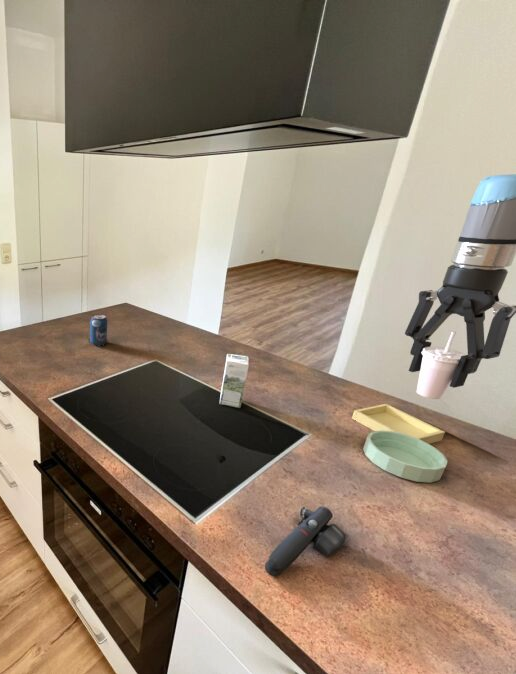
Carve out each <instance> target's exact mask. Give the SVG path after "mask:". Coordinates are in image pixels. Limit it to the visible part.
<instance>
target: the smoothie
mask: <svg viewBox="0 0 516 674" xmlns="http://www.w3.org/2000/svg"><path fill="white" fill-rule="evenodd" d="M456 334H457V331H451V334H450V336H449V338H448V341H447V343H446V346H445V347H441V346H430V347H425V348H423V351H422V352H421V353H422V355H423V358H422V363H421V369H420V371H419V375H418V380H417V386H416V390H415V392H416V394H418V395H419V396H422V397H424V398H427V399H431V400H440V399H441V398H442V396H443V395H444V393H445V391H446V390H447V388H448V386H449V385H450V383H451V380H452V378H453V375H454V373H455V371H456V368H457V366H458V363H459V361H460V358H461V356H464V355H466V354H465V353H463V352H460V351H457V350H454V349H451V346H452V344H453V341H454V338H455V336H456Z"/></svg>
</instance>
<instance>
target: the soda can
mask: <svg viewBox="0 0 516 674" xmlns="http://www.w3.org/2000/svg"><path fill="white" fill-rule="evenodd" d="M89 323H90V326H89V335H90V336H89V342H90V344H91V345H92V344H93V345H92V346H94V345H98V346H97V347H101V346H100V345H103V346H105V345H106V343H107V342H108V319H107V315H105V314H100V313H99V314H98V313H97V314H93V315H92V316H91V318H90V320H89ZM104 344H105V345H104Z"/></svg>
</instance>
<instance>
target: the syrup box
mask: <svg viewBox="0 0 516 674" xmlns="http://www.w3.org/2000/svg"><path fill="white" fill-rule="evenodd" d="M249 362H250V361H249V356H248V355H241V354H232V353H227V354H226V358H225V364H224V365H225V366H224V372H223V377H222V385H221V389H220V397H219V405H221V406H227V407H232V408H237V409H241V407H242V402H243V398H244V397H243V396H244V392H245V387H246V383H247V376H248V372H249V366H250V363H249Z"/></svg>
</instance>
